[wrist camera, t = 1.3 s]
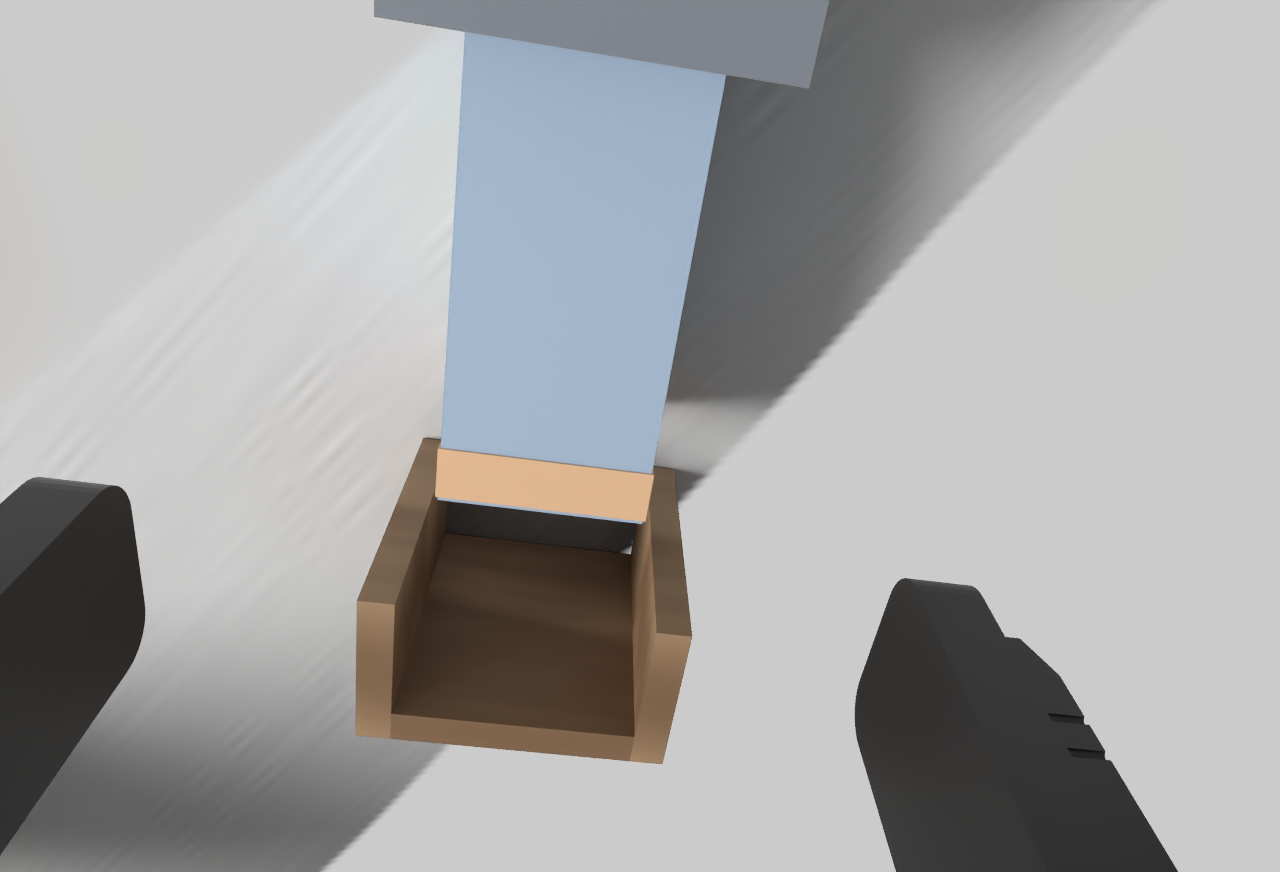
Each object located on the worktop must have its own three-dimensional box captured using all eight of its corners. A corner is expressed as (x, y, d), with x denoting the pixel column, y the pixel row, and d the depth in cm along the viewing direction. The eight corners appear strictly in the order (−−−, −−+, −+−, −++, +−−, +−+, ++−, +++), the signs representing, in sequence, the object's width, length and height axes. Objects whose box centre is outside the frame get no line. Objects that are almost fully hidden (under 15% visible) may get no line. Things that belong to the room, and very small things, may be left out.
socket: (652, 578, 28) (662, 764, 22) (418, 551, 27) (355, 735, 21) (673, 469, 26) (692, 636, 20) (423, 437, 26) (357, 600, 19)
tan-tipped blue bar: (638, 405, 25) (644, 525, 20) (474, 383, 25) (434, 500, 19) (762, -312, 18) (824, -431, 12) (530, -360, 17) (491, -504, 12)
